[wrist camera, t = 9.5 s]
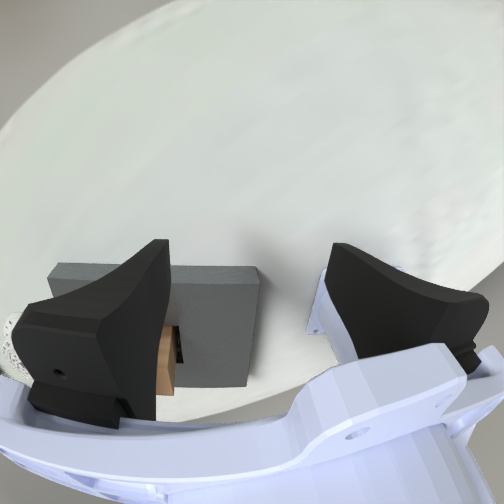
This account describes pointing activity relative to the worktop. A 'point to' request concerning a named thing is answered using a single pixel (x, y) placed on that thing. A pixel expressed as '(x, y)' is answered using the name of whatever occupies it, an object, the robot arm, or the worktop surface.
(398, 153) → the worktop surface
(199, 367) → the hole plate
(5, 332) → the mechanical component
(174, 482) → the robot arm
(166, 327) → the walnut peg
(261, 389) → the worktop surface
